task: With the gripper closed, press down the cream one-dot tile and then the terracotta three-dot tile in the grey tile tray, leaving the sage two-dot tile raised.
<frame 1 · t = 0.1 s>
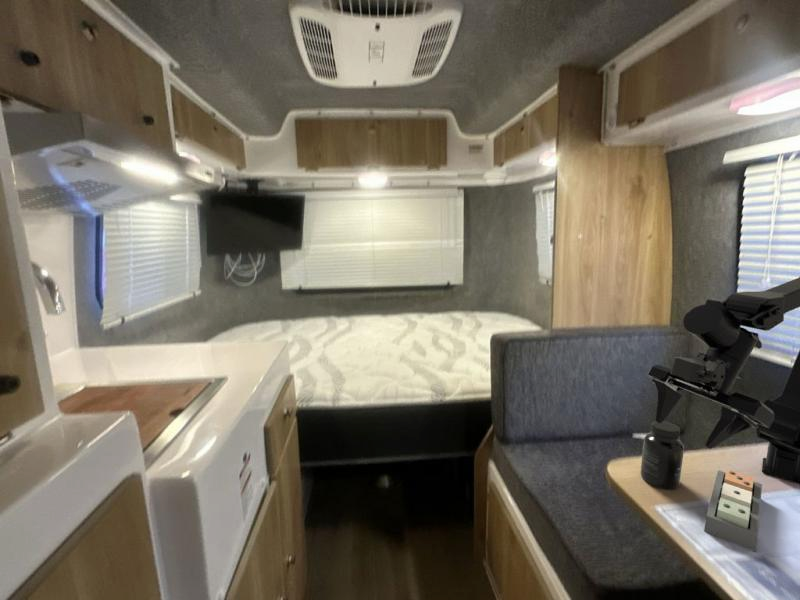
hand: (681, 434, 72), 15 cm above the table, tool tilted 35°, fingers open, 9 cm apart
supplement bottle: (659, 480, 83), on the table
tile two dots: (733, 514, 68), point 3 cm above the table, slide at 0.0 cm
grey tile tray: (733, 513, 73), on the table
tile three dots: (738, 483, 76), point 3 cm above the table, slide at 0.0 cm
tile one dot: (735, 498, 72), point 3 cm above the table, slide at 0.0 cm
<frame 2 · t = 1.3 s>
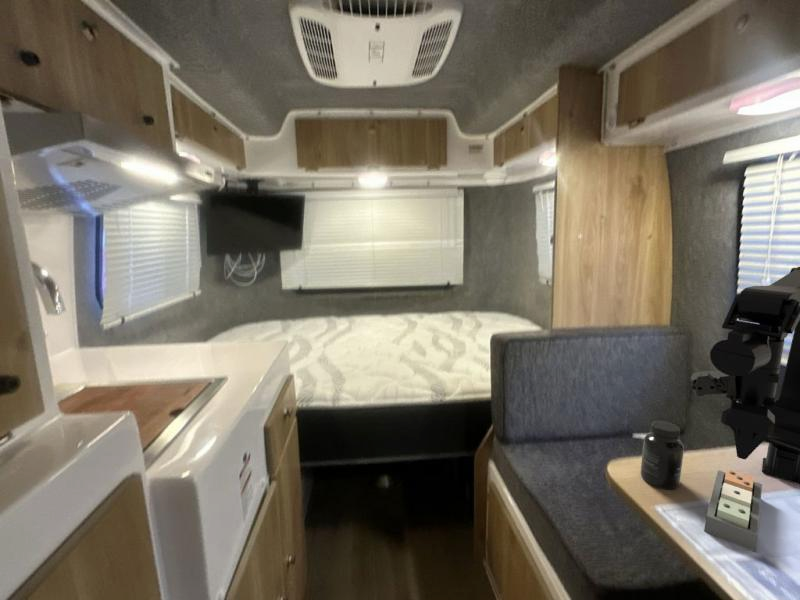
hand: (743, 448, 70), 13 cm above the table, tool pointing down, fingers open, 8 cm apart
nothing on the table moved.
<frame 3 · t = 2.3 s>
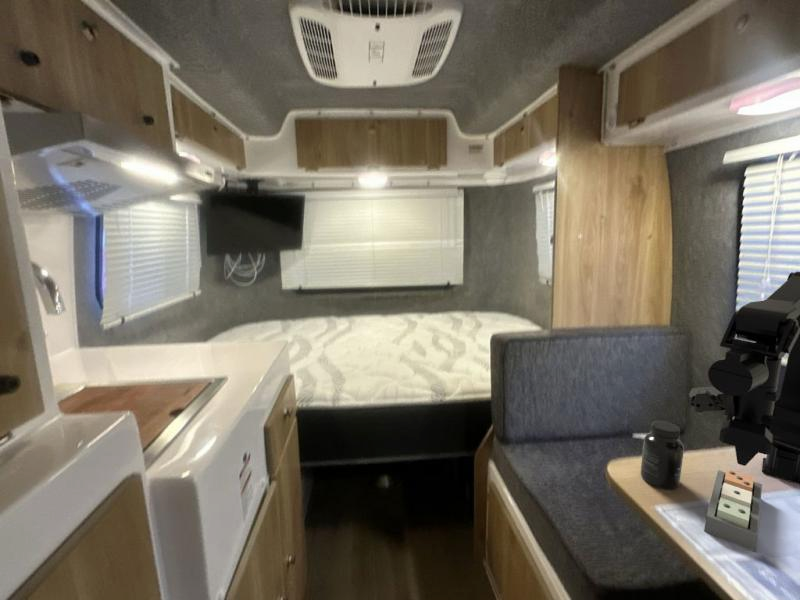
hand: (741, 464, 71), 10 cm above the table, tool pointing down, fingers closed
nothing on the table moved.
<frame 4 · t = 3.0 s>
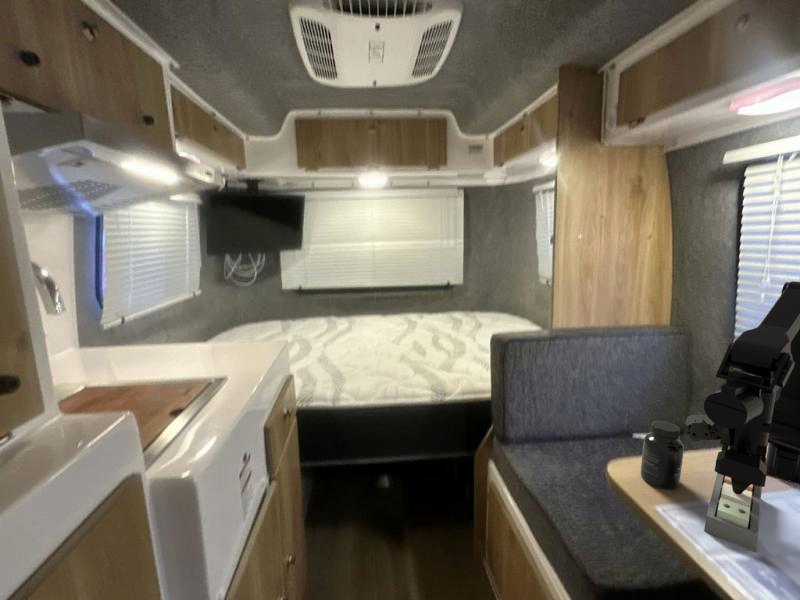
hand: (736, 492, 72), 4 cm above the table, tool pointing down, fingers closed, pressing on tile one dot
tile one dot: (735, 498, 72), point 3 cm above the table, slide at 0.0 cm, touching gripper
everything else where it was.
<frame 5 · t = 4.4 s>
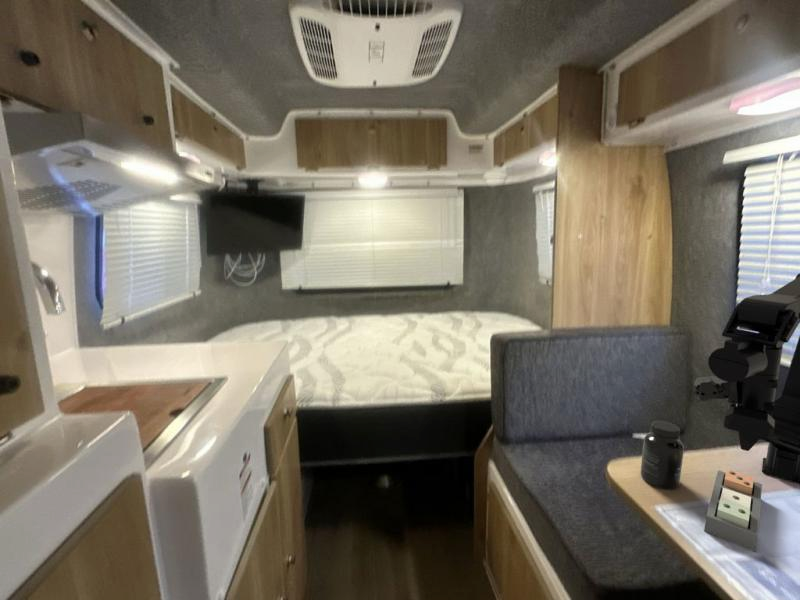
hand: (744, 449, 74), 11 cm above the table, tool pointing down, fingers closed
tile one dot: (735, 503, 73), point 2 cm above the table, slide at 1.0 cm
everything else where it was.
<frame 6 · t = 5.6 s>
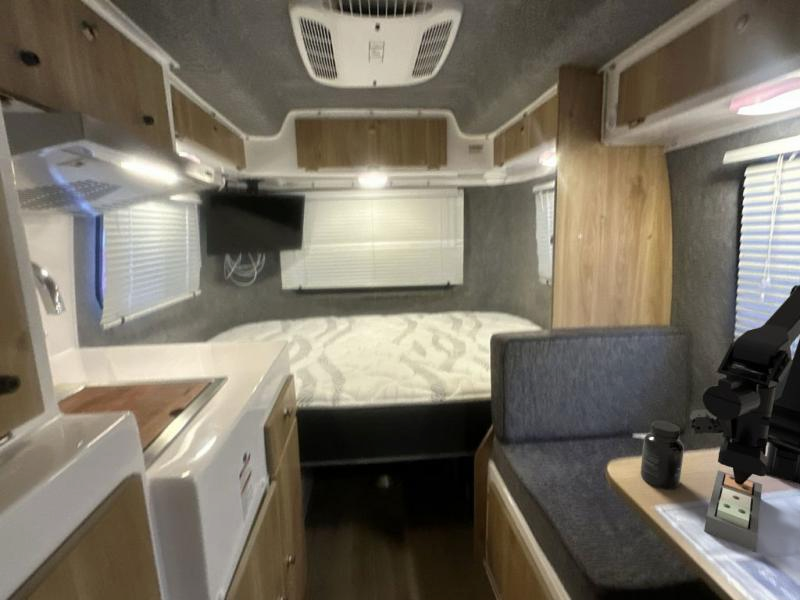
hand: (738, 482, 76), 3 cm above the table, tool pointing down, fingers closed, pressing on tile three dots
tile three dots: (737, 488, 76), point 2 cm above the table, slide at 1.0 cm, touching gripper
everything else where it was.
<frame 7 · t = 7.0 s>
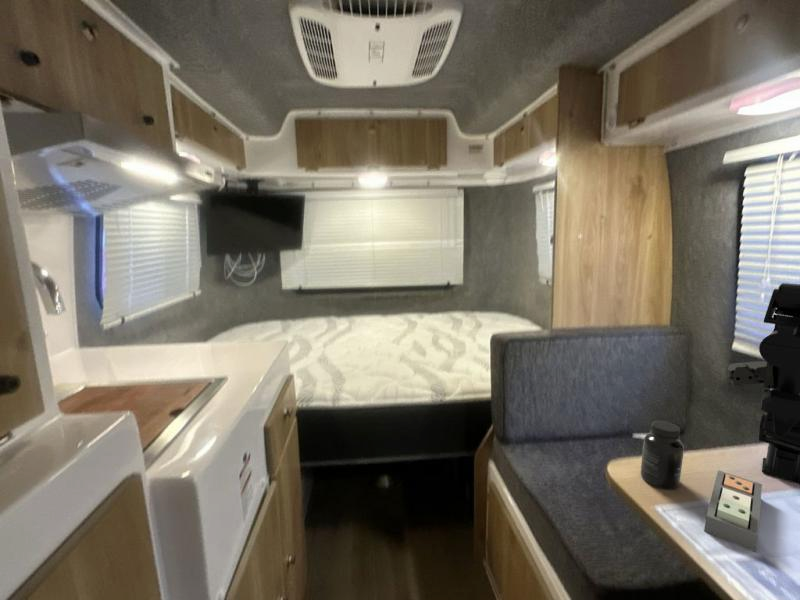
hand: (778, 434, 75), 13 cm above the table, tool pointing down, fingers closed
tile three dots: (737, 488, 76), point 2 cm above the table, slide at 1.0 cm
everything else where it was.
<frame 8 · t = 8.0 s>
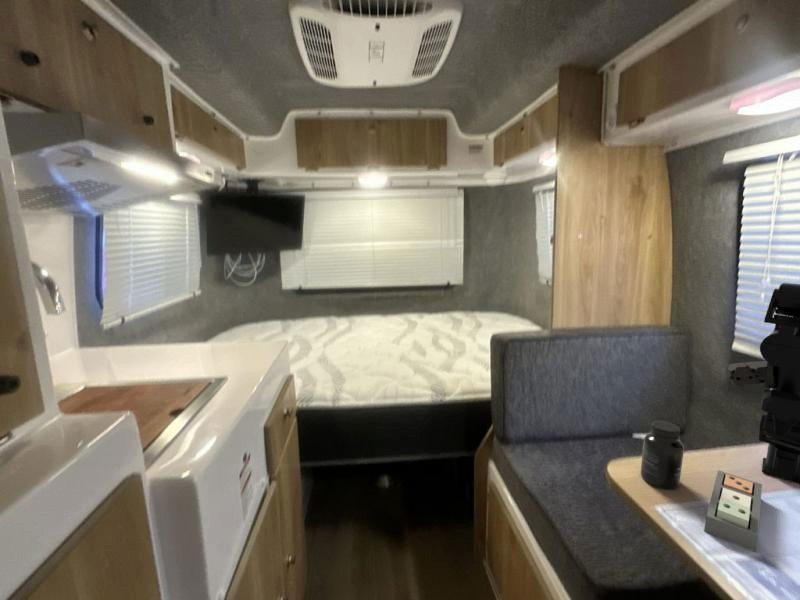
hand: (779, 434, 75), 13 cm above the table, tool pointing down, fingers closed
nothing on the table moved.
at the end: tile one dot slide at 1.0 cm; tile three dots slide at 1.0 cm; tile two dots slide at 0.0 cm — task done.
